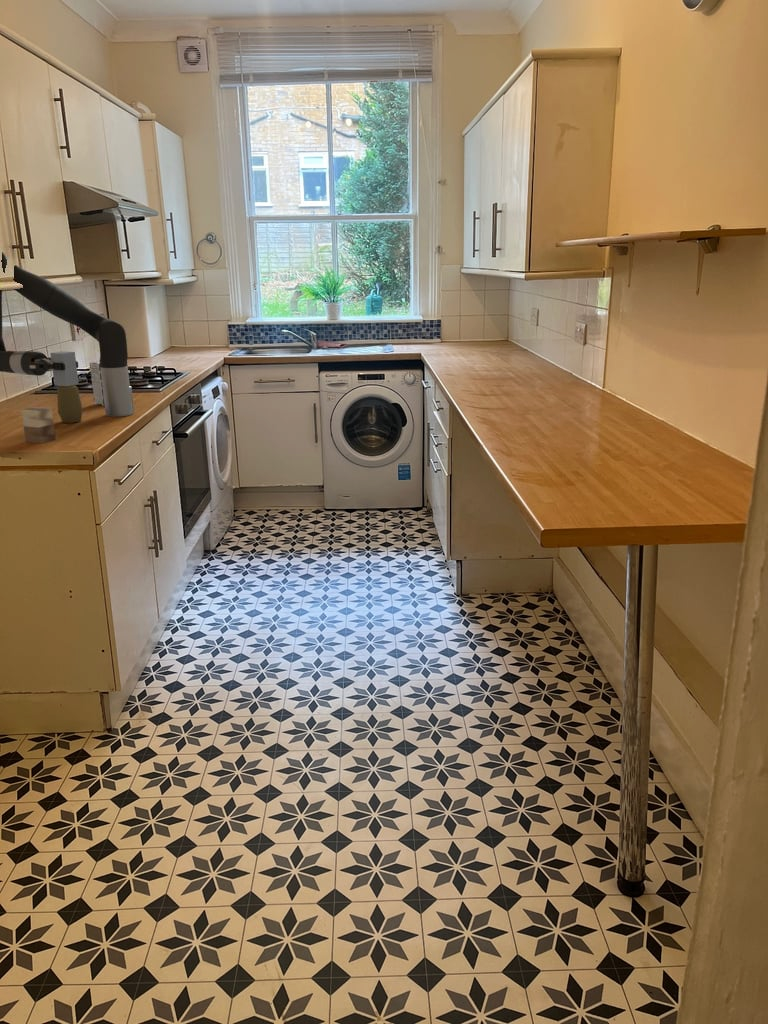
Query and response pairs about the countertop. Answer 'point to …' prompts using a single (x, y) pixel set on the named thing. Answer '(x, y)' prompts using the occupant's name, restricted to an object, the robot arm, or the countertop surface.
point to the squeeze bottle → (69, 404)
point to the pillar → (70, 372)
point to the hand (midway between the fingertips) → (70, 365)
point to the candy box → (97, 383)
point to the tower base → (39, 434)
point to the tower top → (37, 417)
